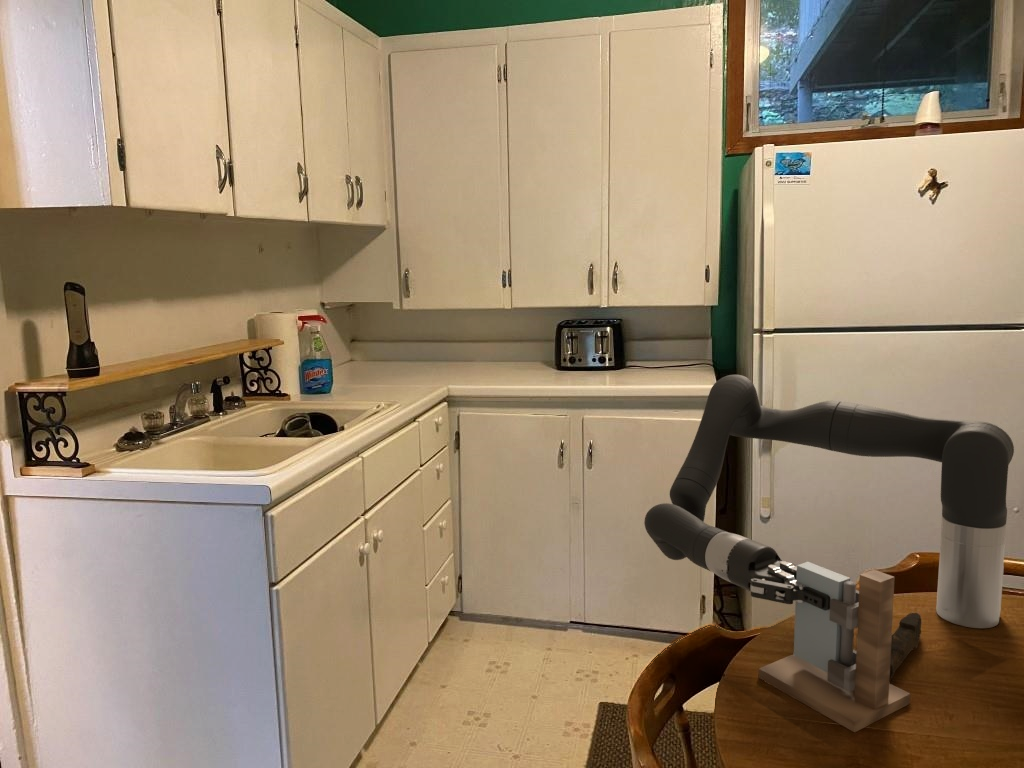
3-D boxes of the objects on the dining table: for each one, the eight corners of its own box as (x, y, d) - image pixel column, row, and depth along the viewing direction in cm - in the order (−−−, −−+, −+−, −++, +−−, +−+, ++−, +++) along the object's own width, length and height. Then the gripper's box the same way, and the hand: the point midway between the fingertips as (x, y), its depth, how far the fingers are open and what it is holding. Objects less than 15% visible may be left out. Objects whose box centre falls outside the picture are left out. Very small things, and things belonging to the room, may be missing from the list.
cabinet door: (804, 650, 115) (808, 561, 112) (855, 676, 107) (860, 582, 105) (793, 655, 113) (796, 565, 111) (844, 681, 106) (849, 586, 104)
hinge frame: (812, 655, 120) (816, 535, 117) (909, 703, 106) (917, 569, 103) (758, 677, 114) (761, 552, 111) (854, 732, 100) (860, 591, 97)
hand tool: (890, 688, 111) (892, 658, 110) (862, 678, 114) (864, 649, 113) (936, 641, 124) (938, 614, 123) (909, 633, 126) (911, 607, 126)
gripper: (771, 573, 126) (865, 614, 111) (709, 593, 119) (801, 639, 105) (772, 530, 125) (868, 565, 110) (709, 547, 118) (803, 587, 103)
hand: (835, 601), depth 107 cm, fingers closed on cabinet door, 2 cm apart
